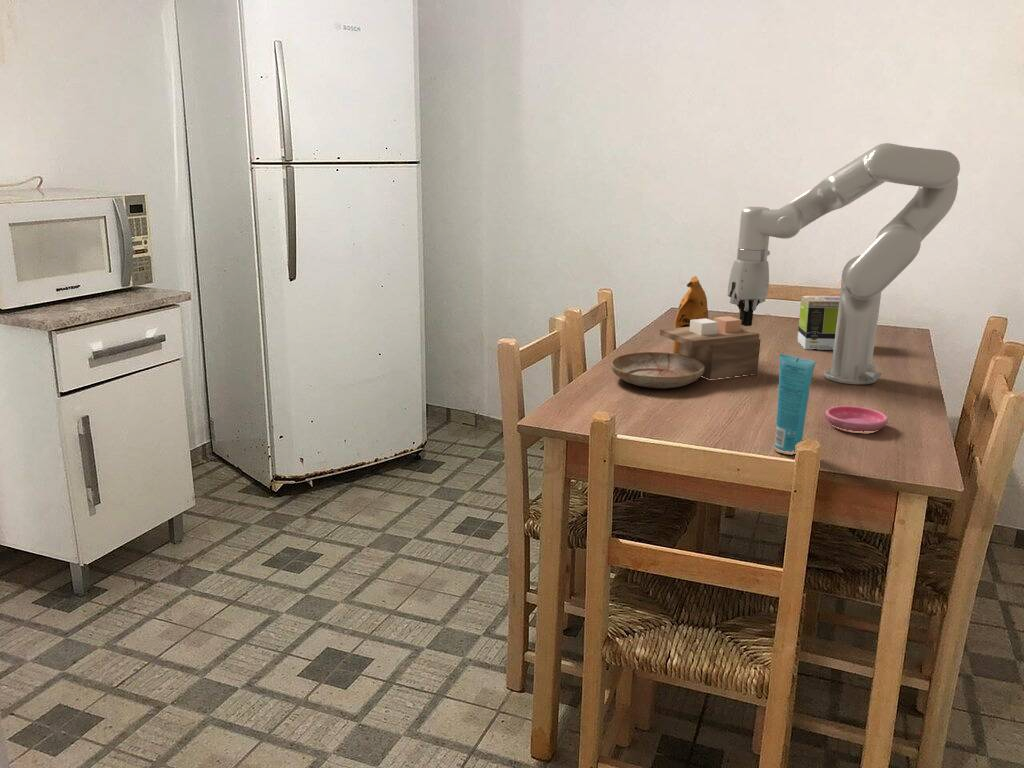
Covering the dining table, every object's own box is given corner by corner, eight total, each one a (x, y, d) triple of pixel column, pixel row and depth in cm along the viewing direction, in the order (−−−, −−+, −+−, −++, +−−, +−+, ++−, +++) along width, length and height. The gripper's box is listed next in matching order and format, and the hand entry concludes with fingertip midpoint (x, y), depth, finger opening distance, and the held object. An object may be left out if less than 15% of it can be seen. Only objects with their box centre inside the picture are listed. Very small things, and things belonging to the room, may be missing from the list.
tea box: (847, 343, 255) (853, 295, 250) (856, 351, 245) (863, 301, 241) (796, 342, 256) (801, 294, 252) (803, 350, 246) (809, 300, 242)
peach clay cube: (740, 331, 219) (741, 319, 218) (724, 332, 217) (725, 321, 216) (728, 327, 224) (729, 316, 223) (712, 328, 222) (713, 317, 221)
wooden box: (757, 374, 220) (761, 333, 217) (689, 383, 211) (692, 341, 208) (723, 362, 232) (726, 323, 229) (657, 370, 223) (660, 329, 220)
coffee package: (667, 359, 234) (672, 281, 228) (675, 349, 245) (680, 274, 239) (703, 363, 230) (709, 283, 224) (710, 353, 242) (715, 276, 235)
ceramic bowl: (594, 374, 219) (594, 355, 218) (672, 366, 227) (673, 348, 226) (637, 399, 198) (638, 379, 197) (722, 390, 206) (723, 370, 205)
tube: (810, 453, 165) (821, 358, 160) (799, 459, 162) (810, 363, 156) (774, 443, 170) (784, 351, 164) (763, 450, 166) (773, 356, 161)
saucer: (817, 430, 179) (819, 415, 178) (832, 414, 189) (833, 401, 188) (879, 441, 172) (881, 427, 172) (891, 425, 182) (893, 411, 182)
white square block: (717, 333, 216) (717, 322, 215) (701, 335, 214) (701, 323, 213) (705, 329, 221) (706, 318, 220) (689, 331, 219) (690, 319, 218)
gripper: (765, 252, 224) (758, 320, 229) (719, 254, 218) (713, 324, 223) (784, 256, 217) (777, 325, 222) (738, 258, 211) (731, 330, 217)
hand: (745, 324), depth 223 cm, fingers closed
